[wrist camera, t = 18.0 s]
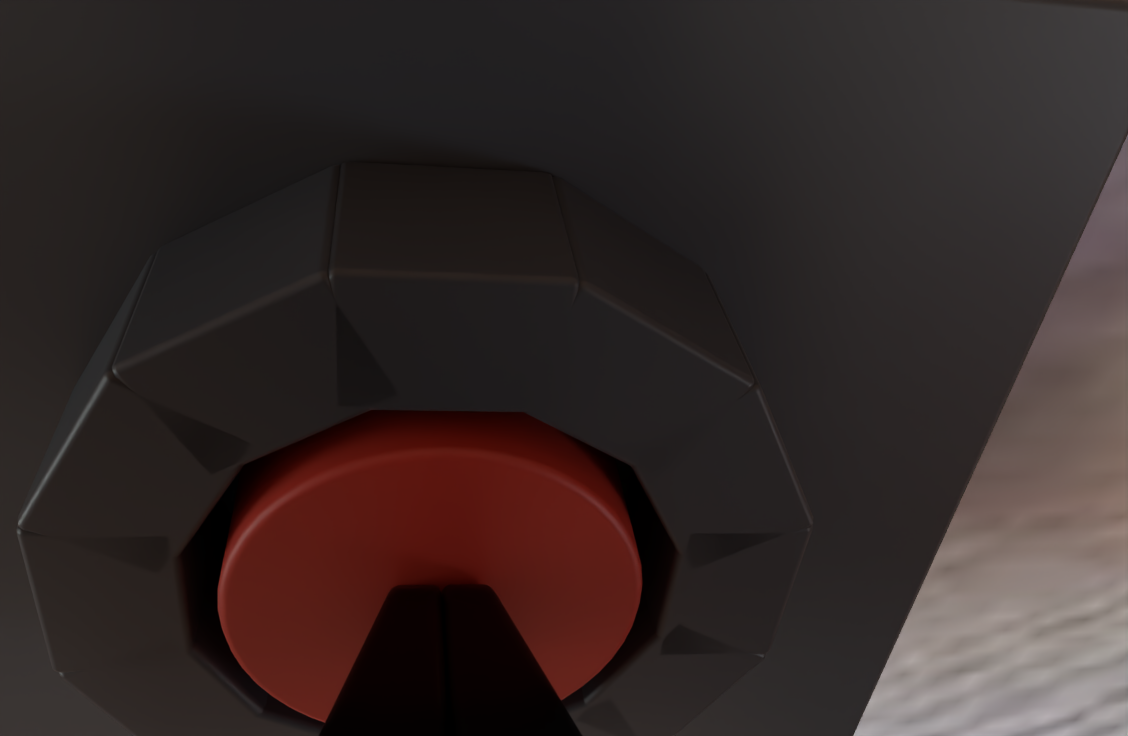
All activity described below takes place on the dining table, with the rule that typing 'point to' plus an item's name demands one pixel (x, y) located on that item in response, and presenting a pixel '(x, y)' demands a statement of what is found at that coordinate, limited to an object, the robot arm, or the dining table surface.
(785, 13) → the switch block
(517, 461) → the power button
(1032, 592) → the dining table surface
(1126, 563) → the dining table surface
